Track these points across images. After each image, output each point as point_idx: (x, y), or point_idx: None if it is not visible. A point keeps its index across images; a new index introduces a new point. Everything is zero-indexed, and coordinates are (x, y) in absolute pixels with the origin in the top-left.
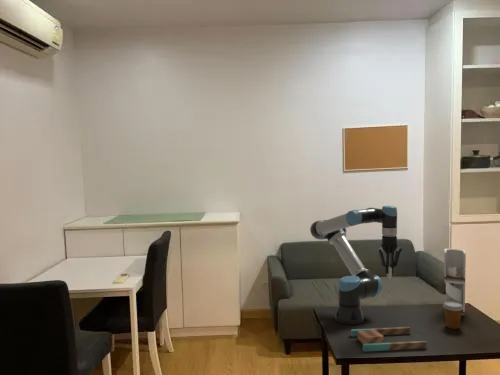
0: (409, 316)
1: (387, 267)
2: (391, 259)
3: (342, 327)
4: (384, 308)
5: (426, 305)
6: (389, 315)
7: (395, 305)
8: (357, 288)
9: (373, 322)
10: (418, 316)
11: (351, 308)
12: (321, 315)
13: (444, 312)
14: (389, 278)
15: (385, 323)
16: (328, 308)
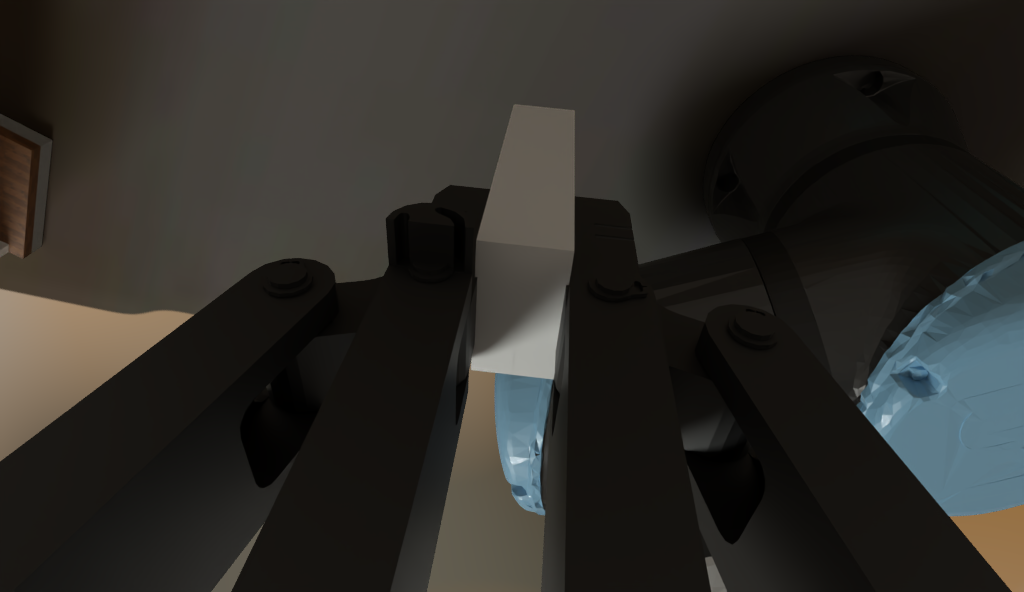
0: (324, 137)
1: (624, 274)
2: (410, 517)
3: (1004, 20)
4: None
5: (153, 294)
6: None
7: None
8: (967, 247)
9: (663, 77)
10: (256, 122)
11: (931, 134)
12: None
13: (43, 140)
14: (562, 121)
15: (578, 32)
16: None
